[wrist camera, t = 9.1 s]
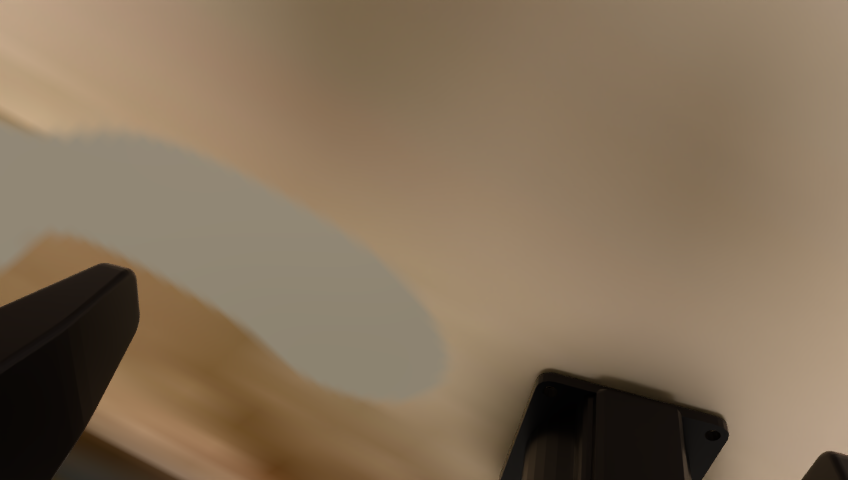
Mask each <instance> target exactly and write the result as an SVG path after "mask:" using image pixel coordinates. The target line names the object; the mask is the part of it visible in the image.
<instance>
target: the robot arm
mask: <svg viewBox="0 0 848 480" xmlns="http://www.w3.org/2000/svg"><path fill="white" fill-rule="evenodd" d="M139 318H140V312H139V301H138V290H137V280H136V275H135V273H134V272H133V271H132V270H131V269H129V268H125V267H121V266H117V265H113V264H110V263H101V264H97V265H95V266H93V267H90V268H88V269H86V270H84V271H81V272H79V273H77V274H75V275H72V276H70V277H68V278H66V279H63V280H61V281H59V282H56V283H54V284H52V285H50V286H47V287H45V288H43V289H41V290H38V291H36V292H34V293H31V294H29V295H27V296H25V297H22V298H20V299H18V300H16V301H13V302H11V303H9V304H7V305H4V306H2V307H0V480H51V479H52V478H53V476H54V475H55V473H56V472H57V470H58V469H59V467H60V466H61V464H62V463H63V461H64V460H65V459H66V457H67V456H68V454H69V453H70V451H71V450H72V448H73V447H74V445H75V444H76V442H77V440H78V439H79V437H80V436H81V434H82V433H83V431H84V429H85V428H86V426H87V424H88V422H89V421H90V419H91V417H92V415H93V413H94V411H95V410H96V408H97V406H98V404H99V402H100V400H101V398H102V396H103V394H104V392H105V390H106V388H107V387H108V385H109V383H110V381H111V379H112V377H113V375H114V373H115V371H116V369H117V367H118V365H119V364H120V362H121V360H122V358H123V356H124V354H125V352H126V350H127V348H128V346H129V344H130V342H131V341H132V339H133V337H134V335H135V333H136V330H137V327H138V324H139ZM547 386H551V387H554V388H553V389H550V388H547ZM710 430H715V431H713V432H711V431H710ZM728 437H729V433H728V427H727V424H726V422H725V421H724V420H723V419H722V418H719V417H717V416H713V415H709V414H706V413H702V412H698V411H694V410H691V409H687V408H683V407H679V406H676V405H672V404H668V403H664V402H661V401H657V400H653V399H650V398H646V397H642V396H638V395H635V394H631V393H627V392H623V391H620V390H616V389H612V388H608V387H605V386H601V385H597V384H593V383H590V382H586V381H582V380H578V379H575V378H571V377H567V376H563V375H560V374H556V373H543V374H541V375H540V376H539V377H538V378H537V379H536V382H535V385H534V387H533V390H532V392H531V395H530V398H529V400H528V403H527V406H526V408H525V411H524V414H523V416H522V419H521V422H520V424H519V427H518V429H517V432H516V435H515V437H514V440H513V443H512V445H511V448H510V451H509V453H508V456H507V459H506V461H505V464H504V466H503V469H502V472H501V474H500V478H499V480H702V479H703V477H704V475H705V474H706V472H707V471H708V469H709V468H710V466H711V465H712V463H713V462H714V460H715V458H716V457H717V455H718V454H719V452H720V451H721V449H722V448H723V446H724V445H725V443H726V441H727V440H728ZM802 480H848V455H845V454H841V453H837V452H833V451H826V452H824V453H822V454H821V455H820V456H819V457H818V458H817V460H816V461H815V462H814V464H813V465H812V466H811V468H810V469H809V470H808V472H807V473H806V474H805V476H804V477H803V478H802Z"/></svg>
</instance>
